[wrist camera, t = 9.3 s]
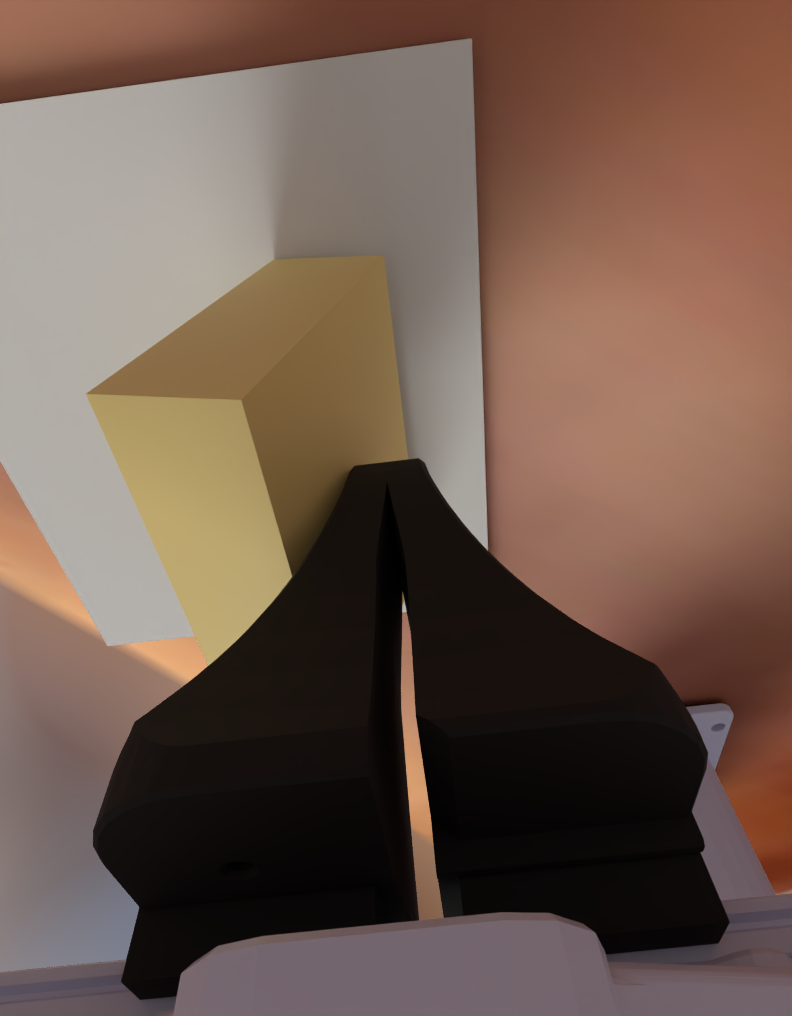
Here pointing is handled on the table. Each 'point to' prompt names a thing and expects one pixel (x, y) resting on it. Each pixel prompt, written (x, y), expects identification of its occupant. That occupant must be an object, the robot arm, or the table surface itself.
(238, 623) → the block
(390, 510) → the robot arm
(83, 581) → the mat
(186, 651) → the table surface
